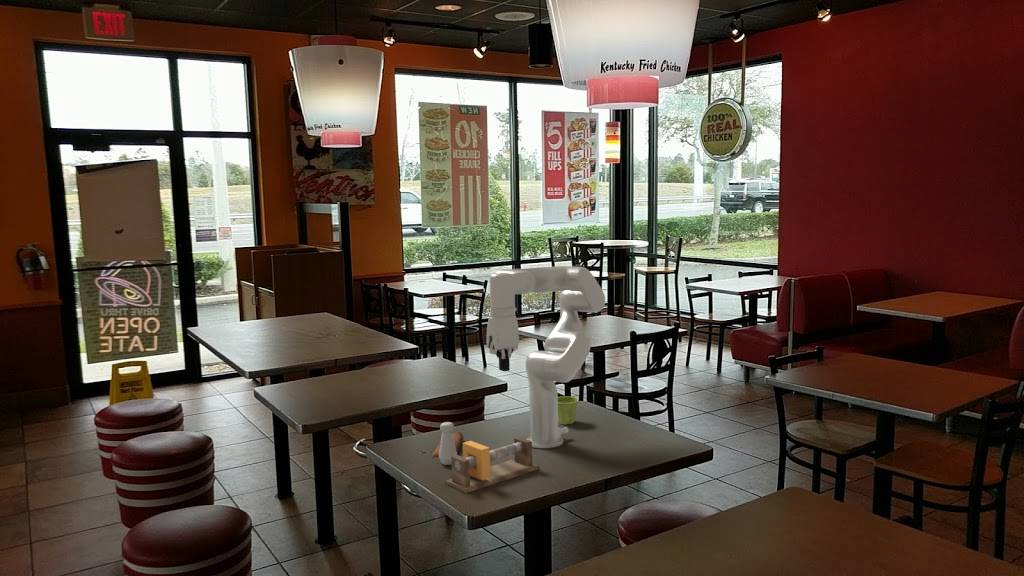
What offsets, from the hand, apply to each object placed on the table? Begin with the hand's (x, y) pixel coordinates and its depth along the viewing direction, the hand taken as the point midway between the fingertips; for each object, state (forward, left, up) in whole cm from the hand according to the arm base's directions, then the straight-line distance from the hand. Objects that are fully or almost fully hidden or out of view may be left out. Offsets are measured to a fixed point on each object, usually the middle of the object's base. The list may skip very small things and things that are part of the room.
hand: (504, 370), depth 234 cm
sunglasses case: (+7, -22, -30) cm, 38 cm away
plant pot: (-42, -16, -29) cm, 54 cm away
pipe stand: (+12, +8, -29) cm, 32 cm away
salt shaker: (+15, -11, -29) cm, 35 cm away
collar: (+18, +8, -27) cm, 34 cm away
